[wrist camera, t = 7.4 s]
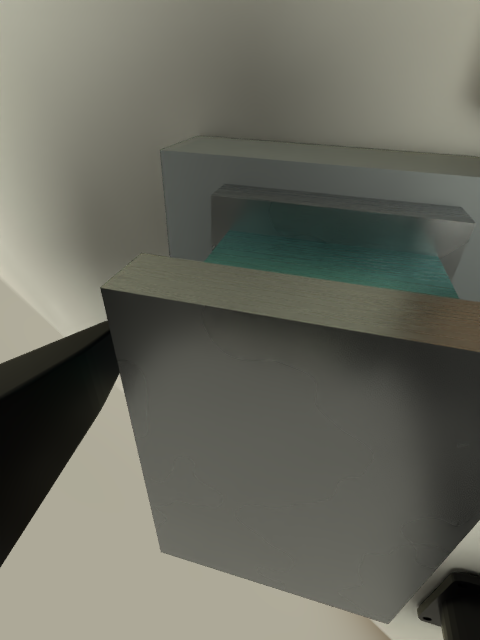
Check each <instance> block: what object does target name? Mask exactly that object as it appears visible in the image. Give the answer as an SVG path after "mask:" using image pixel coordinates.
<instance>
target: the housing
mask: <svg viewBox="0 0 480 640" xmlns="http://www.w3.org/2000/svg"><path fill="white" fill-rule="evenodd" d="M475 225H476V223H475V221H474V220H473V219H472V218H471V217H470V216H469V215H468V213H467V212H466V211H465V210H464V209H463V208H462V207H455V206H445V205H435V204H425V203H415V202H405V201H395V200H385V199H375V198H365V197H355V196H345V195H335V194H325V193H315V192H304V191H294V190H284V189H274V188H264V187H254V186H244V185H234V184H224V185H222V186H221V187H220V188H219V189H218V190H216V191H215V192H214V193H213V194H212V195H211V233H212V252H211V254H210V255H209V256H208V257H207V259H206V260H205V261H204V262H200V261H193V260H186V259H179V258H172V257H166V256H159V255H152V254H145V253H141V254H140V255H139V256H138V257H136V258H135V259H134V260H133V261H132V262H130V263H129V264H128V265H127V266H126V267H124V268H123V269H122V270H121V271H120V272H119V273H117V274H116V275H115V276H114V277H113V278H111V279H110V280H109V281H108V282H107V283H105V284H104V285H103V286H102V287H101V293H102V297H103V301H104V306H105V310H106V314H107V319H108V323H109V327H110V332H111V336H112V341H113V345H114V349H115V354H116V358H117V362H118V367H119V371H120V375H121V380H122V384H123V388H124V393H125V397H126V401H127V406H128V410H129V414H130V419H131V423H132V428H133V432H134V436H135V441H136V445H137V449H138V453H139V458H140V463H141V466H142V471H143V476H144V480H145V484H146V488H147V493H148V497H149V502H150V506H151V510H152V515H153V519H154V523H155V528H156V532H157V536H158V541H159V545H160V550H161V552H163V553H166V554H169V555H172V556H175V557H179V558H182V559H185V560H188V561H191V562H195V563H197V564H200V565H204V566H207V567H210V568H213V569H216V570H220V571H223V572H226V573H229V574H232V575H235V576H238V577H241V578H244V579H248V580H251V581H254V582H257V583H260V584H263V585H266V586H270V587H273V588H276V589H279V590H282V591H285V592H288V593H292V594H295V595H298V596H301V597H304V598H307V599H310V600H314V601H317V602H320V603H323V604H326V605H329V606H332V607H336V608H339V609H342V610H345V611H348V612H351V613H355V614H358V615H361V616H364V617H367V618H370V619H373V620H376V621H380V622H383V623H386V624H389V623H390V622H391V620H392V619H393V618H394V617H395V616H396V615H397V614H398V612H399V611H400V610H401V609H402V608H403V607H404V606H405V604H406V603H407V602H408V601H409V600H410V599H411V598H412V597H413V595H414V594H415V593H416V592H417V591H418V590H419V589H420V587H421V586H422V585H423V584H424V583H425V582H426V581H427V579H428V578H429V577H430V576H431V575H432V574H433V573H434V571H435V570H436V569H437V568H438V567H439V566H440V565H441V563H442V562H443V561H444V560H445V559H446V558H447V557H448V555H449V554H450V553H451V552H452V551H453V550H454V549H455V548H456V546H457V545H458V544H459V543H460V542H461V541H462V540H463V538H464V537H465V536H466V535H467V534H468V533H469V532H470V530H471V529H472V528H473V527H474V526H475V525H476V524H477V522H478V521H479V520H480V302H475V301H468V300H462V299H459V297H458V295H457V293H456V291H455V289H454V287H453V285H452V283H451V281H452V279H453V276H454V274H455V272H456V269H457V267H458V265H459V262H460V260H461V258H462V255H463V253H464V251H465V248H466V246H467V244H468V241H469V239H470V237H471V235H472V232H473V230H474V228H475Z"/></svg>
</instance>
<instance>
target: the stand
mask: <svg viewBox="0 0 480 640" xmlns="http://www.w3.org/2000/svg"><path fill="white" fill-rule="evenodd" d="M160 154H161V165H162V176H163V187H164V198H165V209H166V220H167V231H168V242H169V253H170V257H172V258H179V259H186V260H193V261H200V262H204V261H205V260H206V259H207V257H208V256H209V255H210V254H211V252H212V233H211V195H212V194H213V193H214V192H215V191H216V190H218V189H219V188H220V187H221V186H222V185H224V184H234V185H244V186H254V187H264V188H274V189H284V190H294V191H304V192H315V193H325V194H335V195H345V196H355V197H365V198H375V199H385V200H395V201H405V202H415V203H425V204H435V205H445V206H455V207H462V208H463V209H464V210H465V211H466V212H467V213H468V215H469V216H470V217H471V218H472V219H473V220H474V221H475V223H476V225H475V228H474V230H473V232H472V235H471V237H470V239H469V241H468V244H467V246H466V248H465V251H464V253H463V255H462V258H461V260H460V262H459V265H458V267H457V269H456V272H455V274H454V276H453V279H452V281H451V283H452V285H453V287H454V289H455V291H456V293H457V295H458V297H459V299H462V300H468V301H475V302H480V157H474V156H460V155H447V154H434V153H421V152H407V151H394V150H381V149H367V148H354V147H341V146H328V145H314V144H301V143H288V142H275V141H261V140H248V139H235V138H222V137H208V136H196V137H193V138H191V139H188V140H185V141H183V142H180V143H177V144H175V145H172V146H169V147H167V148H164V149H161V150H160Z"/></svg>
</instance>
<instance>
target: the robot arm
mask: <svg viewBox="0 0 480 640" xmlns="http://www.w3.org/2000/svg"><path fill="white" fill-rule="evenodd" d="M119 373H120V371H119V367H118V362H117V358H116V354H115V349H114V345H113V341H112V336H111V332H110V327H109V323H108V321H104V322H102V323H99V324H97V325H94V326H92V327H90V328H87V329H85V330H82V331H80V332H77V333H75V334H72V335H70V336H67V337H65V338H63V339H60V340H58V341H55V342H53V343H50V344H48V345H45V346H43V347H41V348H38V349H36V350H33V351H31V352H28V353H26V354H23V355H21V356H19V357H16V358H13V359H11V360H8V361H6V362H4V363H1V364H0V567H1V566H2V564H3V562H4V561H5V559H6V558H7V556H8V555H9V553H10V552H11V550H12V548H13V547H14V545H15V544H16V542H17V541H18V539H19V538H20V536H21V534H22V533H23V531H24V530H25V528H26V526H27V525H28V523H29V522H30V520H31V519H32V517H33V516H34V514H35V512H36V511H37V509H38V508H39V506H40V505H41V503H42V501H43V500H44V498H45V497H46V495H47V494H48V492H49V491H50V489H51V487H52V486H53V484H54V483H55V481H56V480H57V478H58V477H59V475H60V473H61V472H62V470H63V469H64V467H65V465H66V464H67V462H68V461H69V459H70V458H71V456H72V455H73V453H74V452H75V450H76V448H77V447H78V445H79V444H80V442H81V441H82V439H83V438H84V436H85V434H86V433H87V431H88V430H89V428H90V427H91V425H92V423H93V422H94V420H95V419H96V417H97V416H98V414H99V412H100V411H101V409H102V407H103V405H104V403H105V402H106V400H107V397H108V395H109V393H110V391H111V390H112V388H113V386H114V384H115V381H116V379H117V377H118V375H119ZM417 612H418V618H419V619H420V620H422V621H424V622H428V623H431V624H434V625H437V626H441V627H442V632H443V638H444V640H480V577H477V576H473V575H469V574H466V573H461V572H454V573H452V574H450V575H449V576H448V577H447V578H446V579H445V580H444V581H443V583H442V584H441V585H440V586H439V587H438V588H437V589H436V590H435V591H434V592H433V593H432V594H431V595H430V596H429V597H428V598H427V599H426V600H425V601H424V602H423V603H422V604H421V605H420V606H419V608H418V609H417Z"/></svg>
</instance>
